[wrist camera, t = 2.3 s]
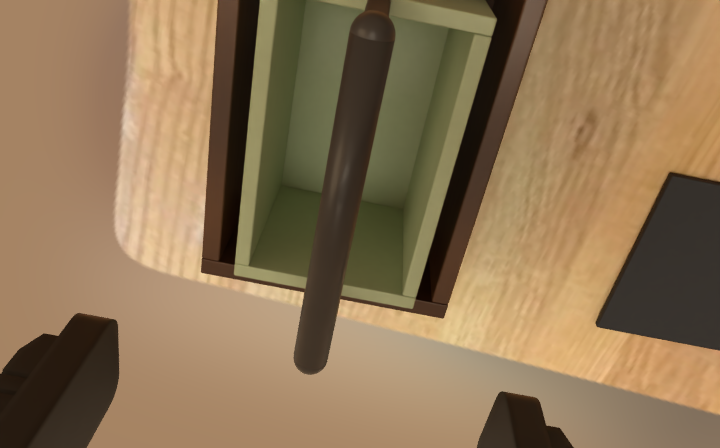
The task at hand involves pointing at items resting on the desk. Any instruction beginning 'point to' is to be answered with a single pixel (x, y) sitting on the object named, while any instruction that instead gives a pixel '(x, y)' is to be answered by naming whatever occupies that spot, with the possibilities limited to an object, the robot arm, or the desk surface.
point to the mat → (673, 269)
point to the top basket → (353, 148)
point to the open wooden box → (470, 174)
